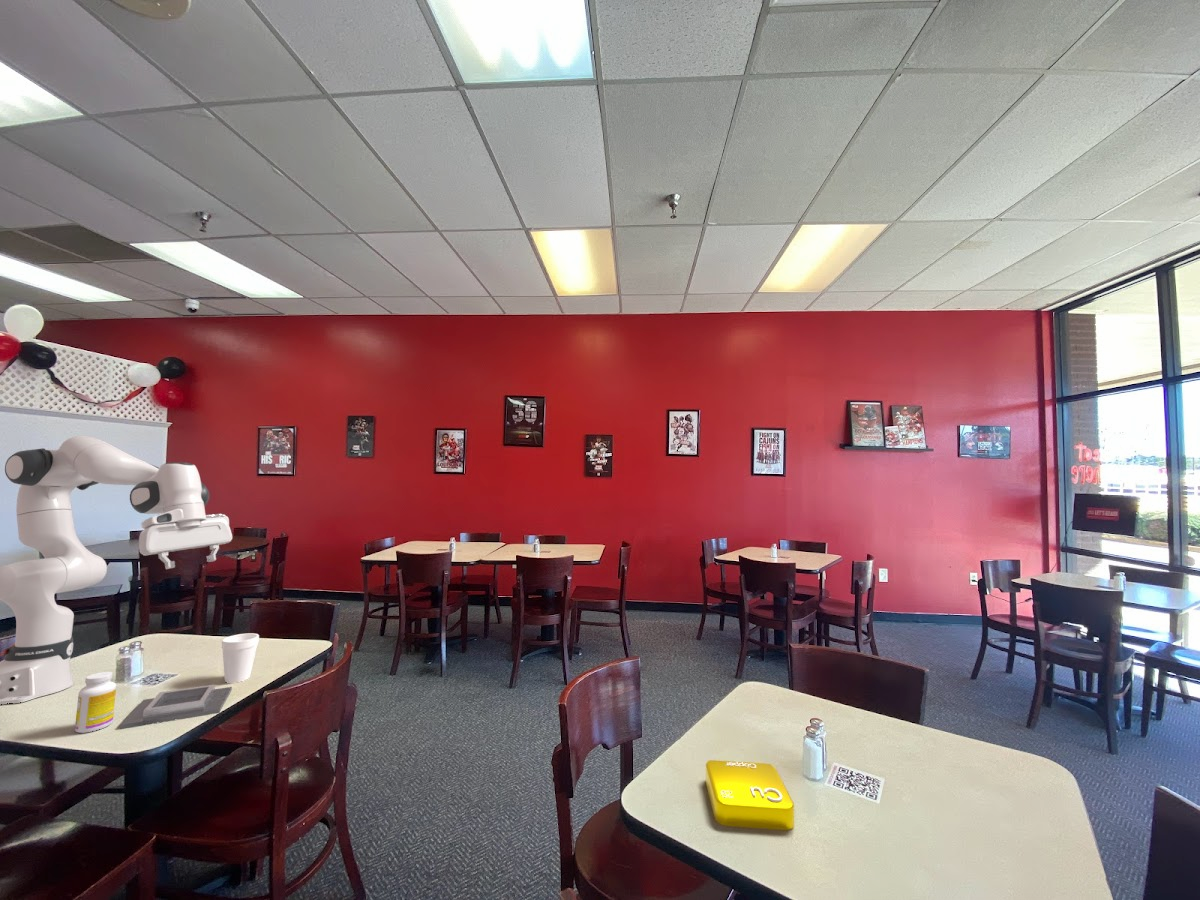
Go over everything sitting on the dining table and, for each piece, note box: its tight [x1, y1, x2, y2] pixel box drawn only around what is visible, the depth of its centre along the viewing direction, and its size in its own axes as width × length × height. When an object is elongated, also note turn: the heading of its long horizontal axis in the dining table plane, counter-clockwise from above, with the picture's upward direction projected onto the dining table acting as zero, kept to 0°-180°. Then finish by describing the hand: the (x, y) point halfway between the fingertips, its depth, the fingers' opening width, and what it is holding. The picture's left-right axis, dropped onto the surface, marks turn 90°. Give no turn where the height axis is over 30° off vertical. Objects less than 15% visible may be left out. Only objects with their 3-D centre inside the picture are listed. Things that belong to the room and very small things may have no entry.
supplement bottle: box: [74, 671, 117, 734], centre depth 120 cm, size 7×7×13 cm
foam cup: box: [221, 632, 260, 684], centre depth 150 cm, size 10×9×13 cm
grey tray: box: [119, 684, 233, 730], centre depth 130 cm, size 20×16×3 cm
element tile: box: [705, 759, 795, 831], centre depth 95 cm, size 15×15×5 cm
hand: (191, 564), depth 132 cm, fingers open, 8 cm apart
